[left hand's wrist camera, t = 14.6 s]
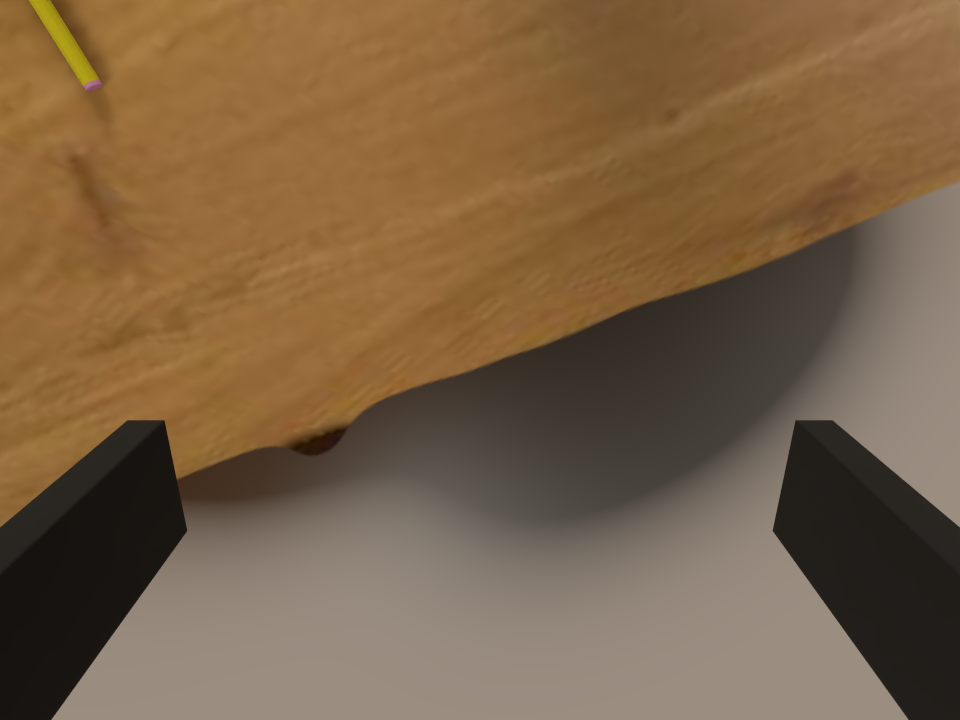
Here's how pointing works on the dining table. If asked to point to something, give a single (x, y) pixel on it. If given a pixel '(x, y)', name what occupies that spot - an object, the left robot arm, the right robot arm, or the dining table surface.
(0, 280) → the dining table surface
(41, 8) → the pencil
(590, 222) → the dining table surface
